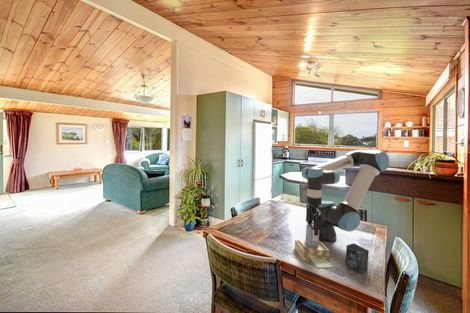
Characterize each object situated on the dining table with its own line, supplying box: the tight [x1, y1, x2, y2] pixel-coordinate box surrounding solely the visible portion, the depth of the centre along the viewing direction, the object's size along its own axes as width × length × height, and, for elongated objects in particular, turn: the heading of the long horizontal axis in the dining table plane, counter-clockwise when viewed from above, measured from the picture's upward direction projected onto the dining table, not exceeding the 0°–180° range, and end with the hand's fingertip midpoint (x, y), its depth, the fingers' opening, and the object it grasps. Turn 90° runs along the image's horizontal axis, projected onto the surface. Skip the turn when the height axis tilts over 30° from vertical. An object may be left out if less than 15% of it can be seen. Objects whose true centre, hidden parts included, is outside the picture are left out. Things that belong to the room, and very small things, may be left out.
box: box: [345, 242, 369, 274], centre depth 106 cm, size 8×6×11 cm
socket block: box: [294, 239, 330, 261], centre depth 119 cm, size 14×12×5 cm
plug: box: [305, 224, 320, 248], centre depth 119 cm, size 5×5×13 cm
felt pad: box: [310, 259, 334, 269], centre depth 110 cm, size 8×8×1 cm
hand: (312, 238), depth 119 cm, fingers closed on plug, 5 cm apart
